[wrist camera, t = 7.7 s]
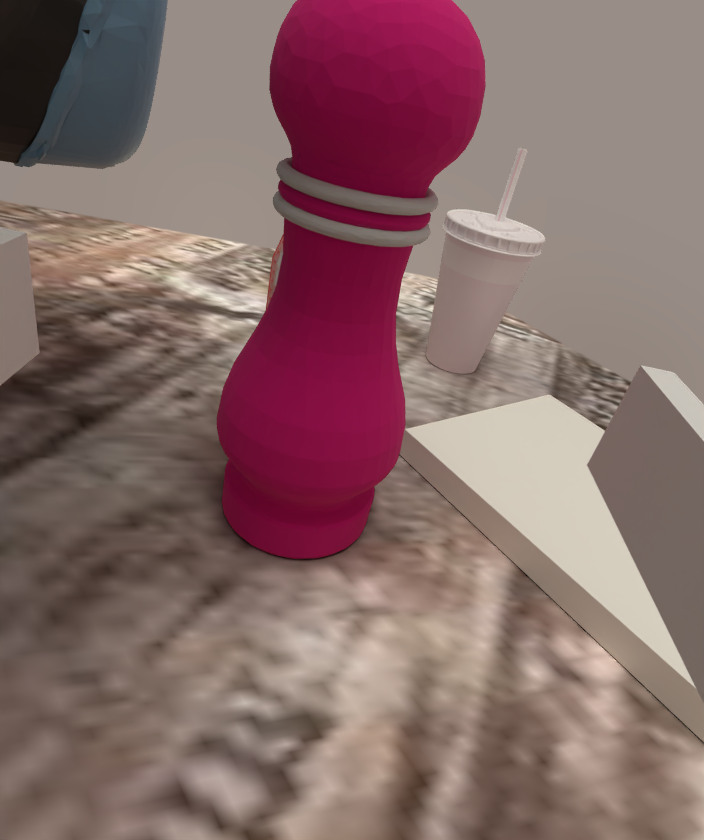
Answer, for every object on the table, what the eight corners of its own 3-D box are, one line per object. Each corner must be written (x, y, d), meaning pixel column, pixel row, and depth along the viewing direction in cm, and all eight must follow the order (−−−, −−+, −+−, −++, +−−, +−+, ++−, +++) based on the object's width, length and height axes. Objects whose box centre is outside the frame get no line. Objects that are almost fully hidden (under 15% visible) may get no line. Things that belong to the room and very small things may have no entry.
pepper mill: (340, 449, 29) (458, -53, 18) (406, 554, 23) (627, -68, 13) (194, 462, 25) (233, -136, 15) (232, 587, 20) (332, -202, 10)
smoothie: (504, 362, 42) (582, 161, 34) (480, 394, 37) (566, 166, 29) (426, 332, 44) (484, 135, 36) (393, 358, 39) (453, 135, 31)
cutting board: (397, 452, 29) (405, 429, 28) (540, 414, 36) (549, 394, 35) (713, 751, 19) (738, 726, 18) (831, 616, 25) (853, 594, 25)
